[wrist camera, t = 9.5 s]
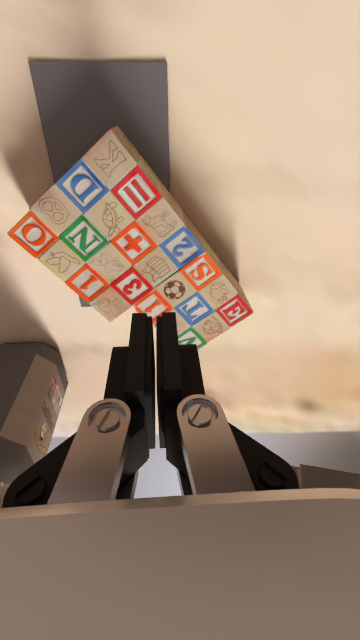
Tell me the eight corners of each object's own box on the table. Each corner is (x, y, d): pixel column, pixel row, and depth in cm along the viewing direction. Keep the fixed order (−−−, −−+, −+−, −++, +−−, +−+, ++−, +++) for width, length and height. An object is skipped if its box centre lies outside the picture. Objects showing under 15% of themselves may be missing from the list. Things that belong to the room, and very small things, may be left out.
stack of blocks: (256, 313, 33) (166, 371, 36) (242, 284, 38) (164, 338, 42) (107, 126, 22) (3, 234, 26) (115, 122, 27) (27, 212, 31)
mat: (166, 62, 25) (167, 62, 25) (171, 301, 39) (171, 303, 38) (29, 61, 25) (28, 61, 25) (81, 305, 38) (81, 306, 38)
